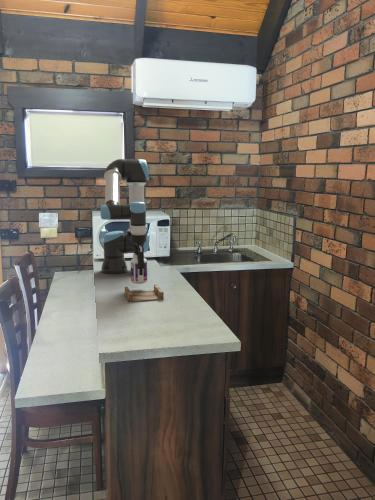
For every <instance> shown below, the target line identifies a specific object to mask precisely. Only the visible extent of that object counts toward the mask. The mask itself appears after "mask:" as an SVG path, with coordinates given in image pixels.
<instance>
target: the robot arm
mask: <svg viewBox="0 0 375 500" xmlns="http://www.w3.org/2000/svg"><path fill="white" fill-rule="evenodd" d="M103 179H104V181H105V189H104V191H105V195H104V204H101V205H100V219H101V220H108V221H112V220H113V221H115V220H116V221H117V220H118V221H119V220H122V221H123V220H129V228H128V229H127V230H126V233H125V232H124V231H123V230H115V231H109V232H106V233H105V234H104V235H103V241H102V243H103V262H102V264H101V268H100V269H101V270H100V272H101V273H102V274H107V275H114V274H115V275H117V274H123V273H124V274H125V273H126V272H128V265H127V262H126V259H125V254H135V253H136V255H137V259H138V267H137V269H138V282H140V281H144V270H143V268H144V258H145V254H146V253H148V251H149V247H150V246H149V245H150V239H151V238H150V236H151V234H150V232H148V229H147V222H146V221H147V207H146V202H145V186H146V184H147V181H149V180H150V176H149V168H148V163H147V160H146V159H141V158H130V159H129V158H125V159H124V158H118V159H116V160H113V161H112V162H110V163H109V164H108V165H107V167H106V168H105V170H104V172H103ZM121 181H125V184H126V185H128V196H129V197H128V198H129V200H128V201H129V202H128V203H129V204H121V201H120V199H121V195H120V194H121V193H120V191H121V190H120V188H121V185H120V184H121ZM141 265H142V266H141Z"/></svg>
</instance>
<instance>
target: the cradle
mask: <svg viewBox="0 0 375 500" xmlns="http://www.w3.org/2000/svg"><path fill="white" fill-rule="evenodd" d="M124 295H125V297H126V300H127V301H128V303H129V302H131V303H140V302H143V303H144V302H152V301H153V302H154V301H163V300H164V299H165V298H164V291H163V290H162V289H161V288H160V287H159V285H158V284H153V290H152V289H151V290H142V291H131V290H130V288H129V287H128V286H124Z"/></svg>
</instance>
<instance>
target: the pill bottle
mask: <svg viewBox="0 0 375 500" xmlns="http://www.w3.org/2000/svg"><path fill="white" fill-rule="evenodd" d="M141 266H142V265H141ZM137 267H138V259H137V255H136V253H135V254H134V253H132V258H131V260H130V281H131V283H133V284H136V285H144V284H146V283H148V260H147V258H145V257H144V268H143V270H144V281H140V282H138V269H137Z"/></svg>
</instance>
